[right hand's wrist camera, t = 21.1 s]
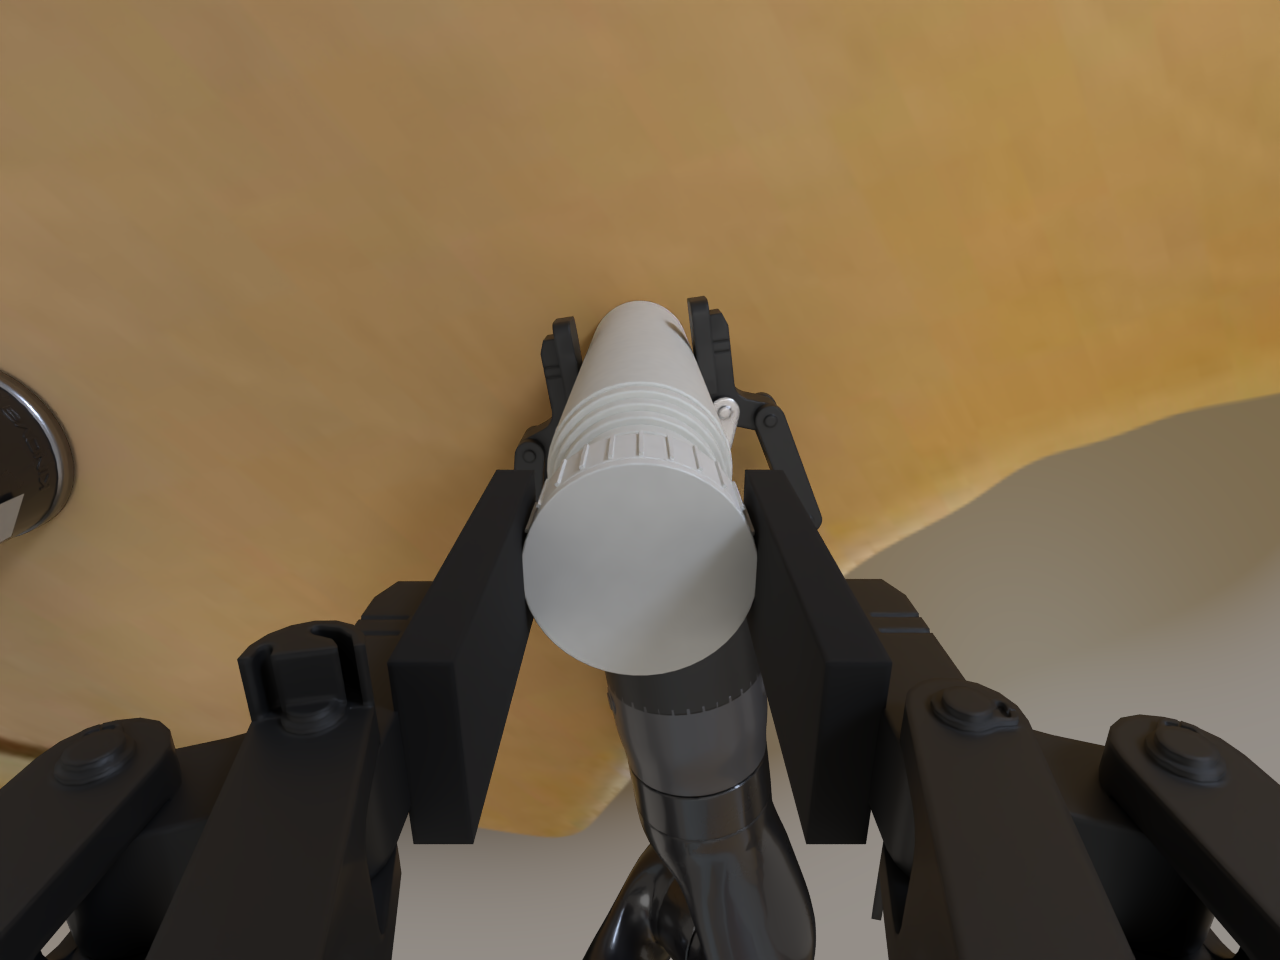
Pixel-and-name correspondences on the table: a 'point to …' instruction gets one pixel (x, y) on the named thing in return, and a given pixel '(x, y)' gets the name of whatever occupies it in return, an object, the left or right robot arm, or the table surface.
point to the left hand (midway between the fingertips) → (630, 311)
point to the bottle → (639, 388)
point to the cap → (639, 555)
